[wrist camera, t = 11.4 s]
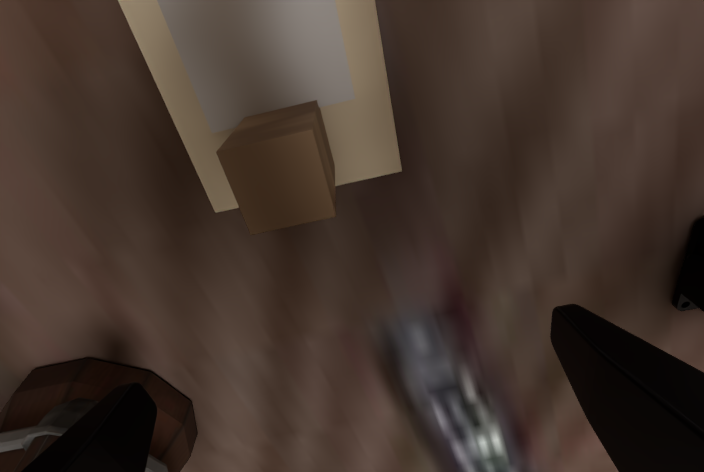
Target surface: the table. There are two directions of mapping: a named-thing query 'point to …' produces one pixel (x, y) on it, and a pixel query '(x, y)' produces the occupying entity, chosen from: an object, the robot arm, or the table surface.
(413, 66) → the table surface
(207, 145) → the board
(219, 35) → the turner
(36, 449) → the mug
